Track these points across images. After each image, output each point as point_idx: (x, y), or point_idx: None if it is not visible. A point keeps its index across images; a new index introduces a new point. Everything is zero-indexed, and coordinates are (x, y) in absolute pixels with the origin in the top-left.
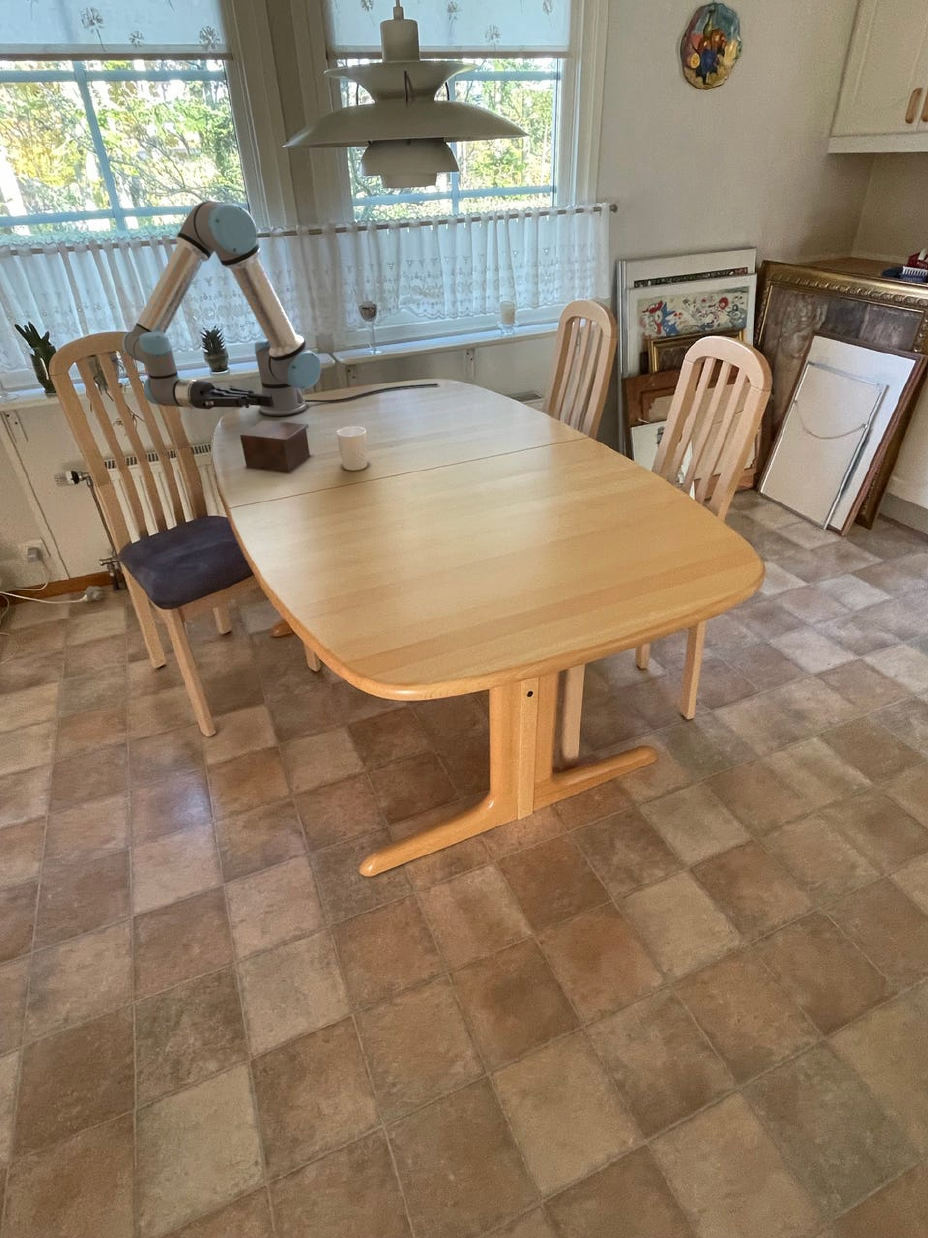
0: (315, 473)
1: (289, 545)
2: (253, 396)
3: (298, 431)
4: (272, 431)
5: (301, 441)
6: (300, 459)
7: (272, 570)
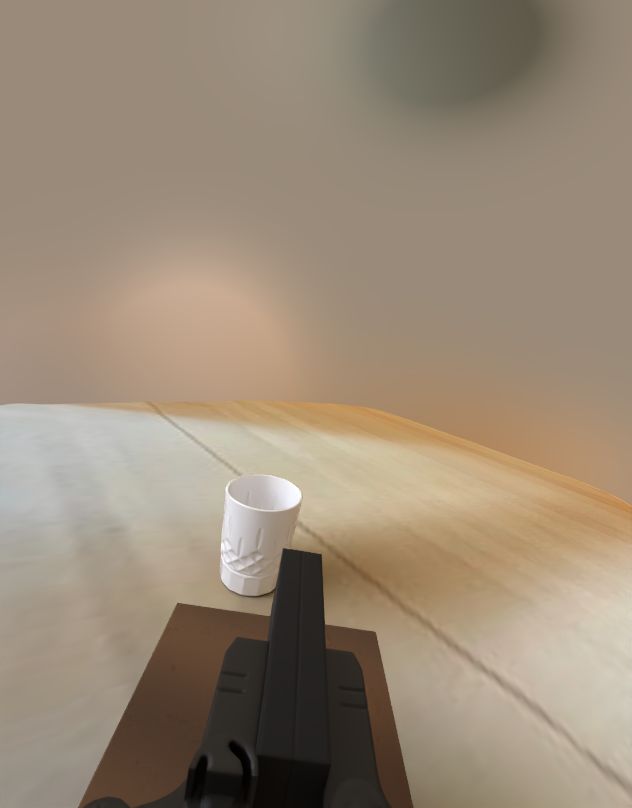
0: None
1: (608, 599)
2: (327, 689)
3: (268, 617)
4: None
5: None
6: None
7: None
